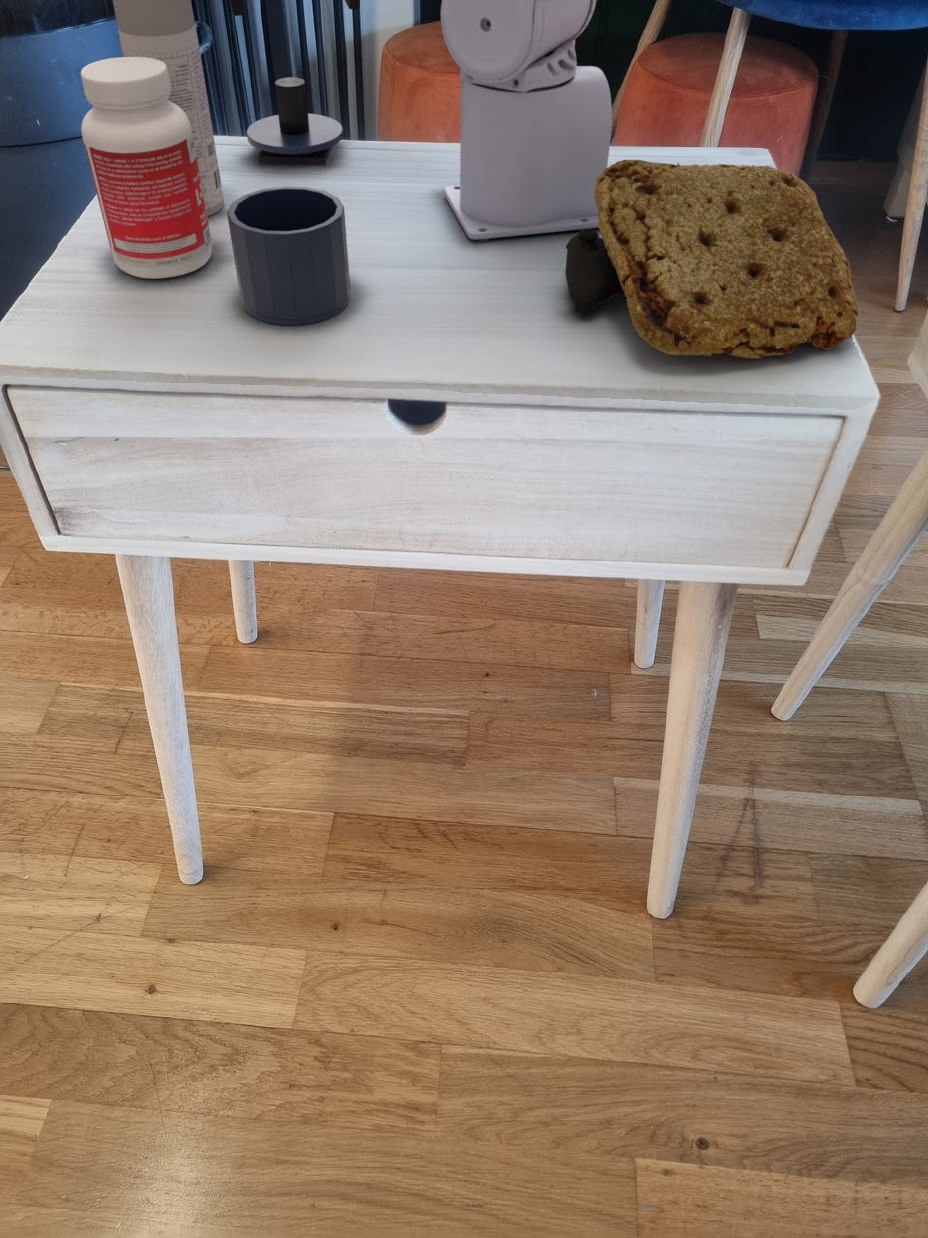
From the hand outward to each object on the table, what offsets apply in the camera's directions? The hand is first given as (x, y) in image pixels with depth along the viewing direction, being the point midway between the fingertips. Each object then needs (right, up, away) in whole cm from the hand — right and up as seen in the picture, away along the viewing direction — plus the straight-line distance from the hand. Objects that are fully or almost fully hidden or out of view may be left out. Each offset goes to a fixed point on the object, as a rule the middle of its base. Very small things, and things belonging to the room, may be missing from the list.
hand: (295, 8), depth 66 cm
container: (-8, -12, +2) cm, 15 cm away
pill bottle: (-8, -18, -3) cm, 20 cm away
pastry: (+26, -20, -9) cm, 34 cm away
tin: (+1, -22, -7) cm, 23 cm away
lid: (-1, -4, +9) cm, 10 cm away
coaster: (-1, -5, +9) cm, 11 cm away
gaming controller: (+21, -21, -6) cm, 31 cm away
